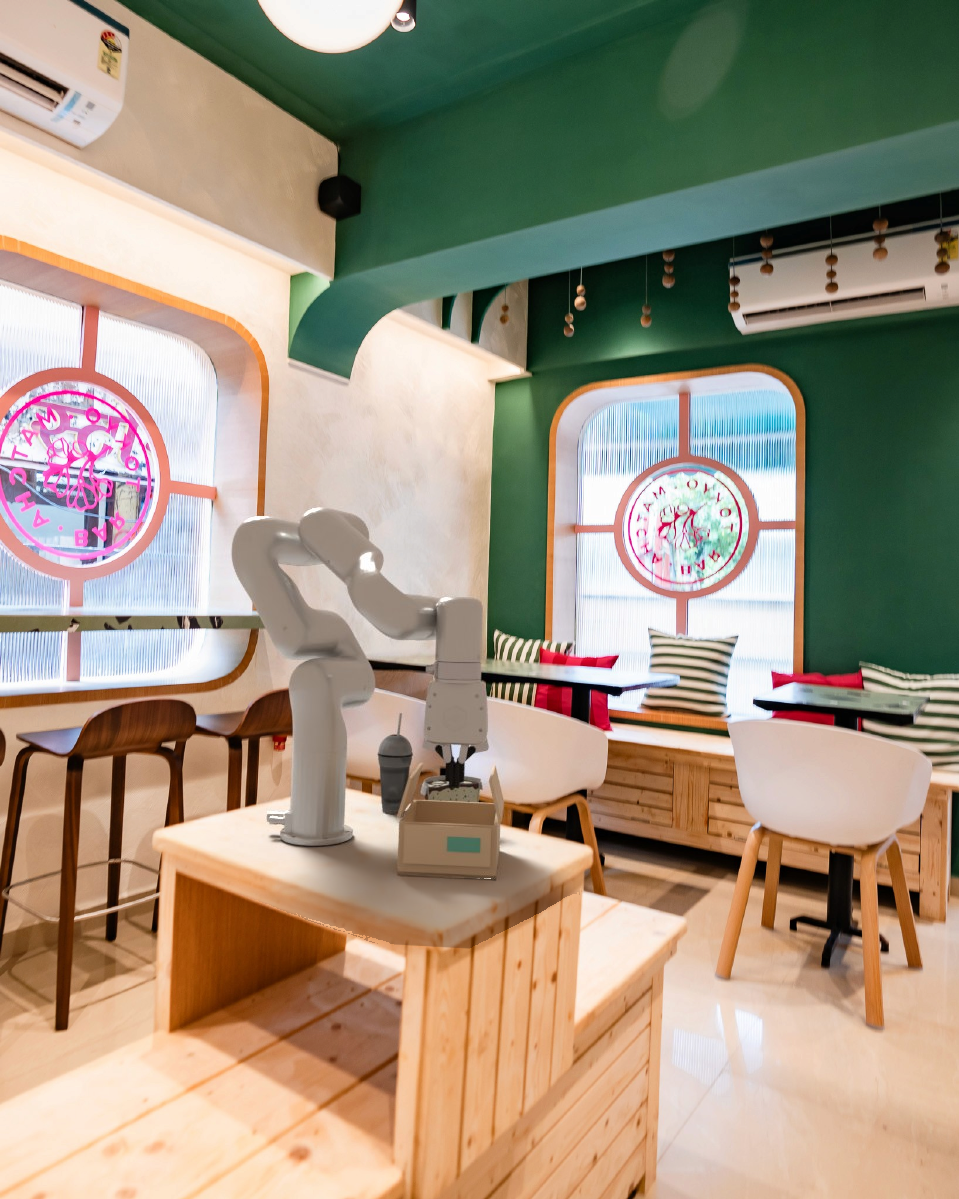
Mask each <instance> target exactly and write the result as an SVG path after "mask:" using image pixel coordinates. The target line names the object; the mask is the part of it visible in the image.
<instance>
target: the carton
mask: <svg viewBox="0 0 959 1199" xmlns="http://www.w3.org/2000/svg"><path fill="white" fill-rule="evenodd" d="M397 843H398V844H397V846H398V849H397V872H396V875H397V876H408V877H422V878H423V877H425V878H427V877H428V878H445V879H446V878H448V879H464V878H480V879H479V880H484V878H491V879H496V880H497V876H496V875H498V874H497V873H498V868H497V867H498V866H499V858H500V852H501V851H500V850H501V849H500V848H501V846H500V845H501V822H499V823H498V818H497V814H496V810H495V805H494V802H479V801H478V802H458V801H435V800H425V799H412V801H411V802H410V804H409V805H408V807H407V808H406V810H405V811H404V813H403V814H402V816H401V817H400V820H399V821H398V842H397Z"/></svg>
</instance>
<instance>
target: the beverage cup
mask: <svg viewBox="0 0 959 1199" xmlns="http://www.w3.org/2000/svg"><path fill="white" fill-rule="evenodd" d="M402 717H403V713H401V712H399V716H398V722H397V725H398V726H397V733H396V734H389V735H388V736H386V737H384V738H383V739H382V741H381V742H380V745H379V747H378V751H377V757H378V760H377V761H378V765H379V773H380V774H379V776H380V777H379V778H380V796H381V797H380V798H381V800H380V801H381V802H380V803H381V810H382V811H383V812H382V813H384V812H385V813H384V814H388V813H389V814H390V815H397V814H398V811H399V808H400V804H401V801H402V798H403V795H404V791H405V788H406V785H407V781H408V778H409V776H410V769H411V765H412V760H413V755H414V754H413V753H414V752H413V748H412V744H411V742H410V741H409V739H408V738H407V737H405V736H404V735H402V734H400V733H401V728H402V727H401V725H402ZM389 814H388V815H389Z"/></svg>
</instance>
